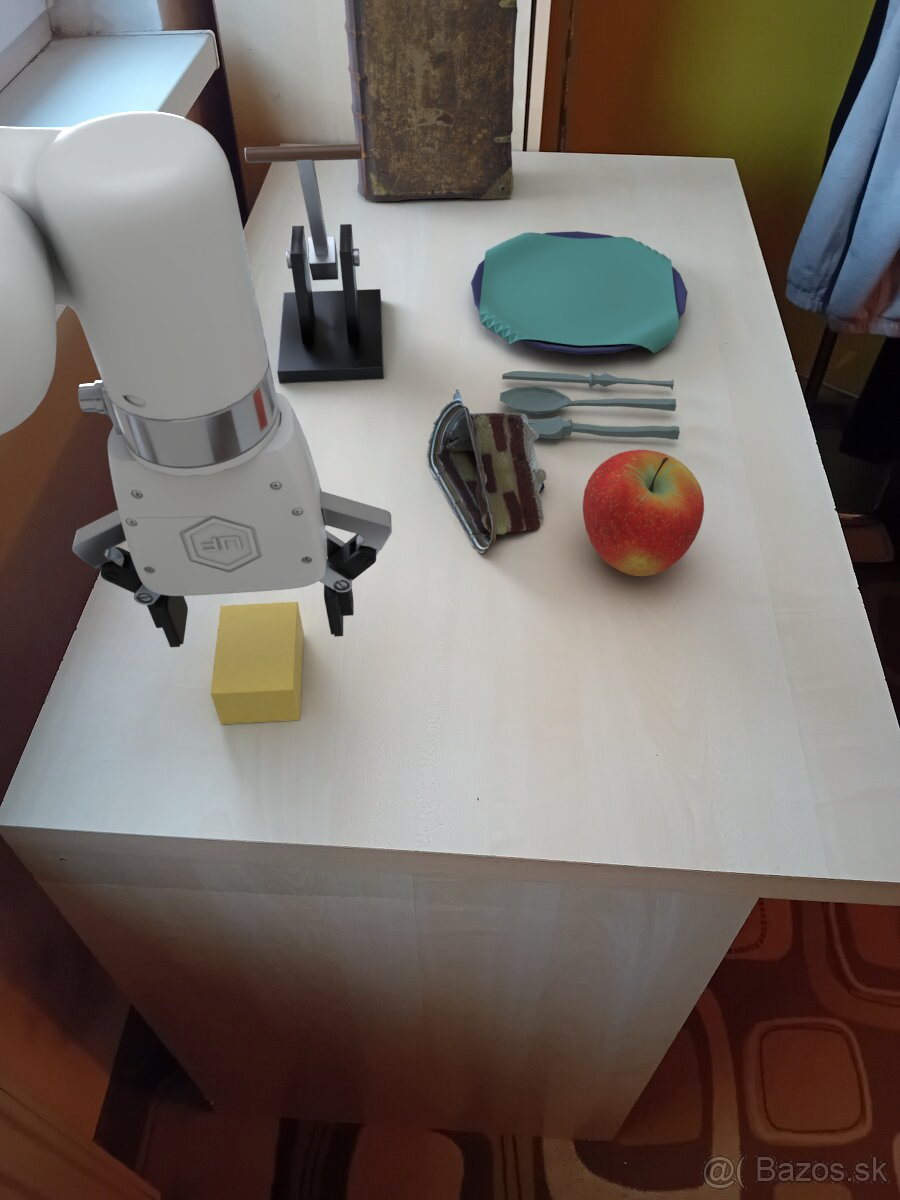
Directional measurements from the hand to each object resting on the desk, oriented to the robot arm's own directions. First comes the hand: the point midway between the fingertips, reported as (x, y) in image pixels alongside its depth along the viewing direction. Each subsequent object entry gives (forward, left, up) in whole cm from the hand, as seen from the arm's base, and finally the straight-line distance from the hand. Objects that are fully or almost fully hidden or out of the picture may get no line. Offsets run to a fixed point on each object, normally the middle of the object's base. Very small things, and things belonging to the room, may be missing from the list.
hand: (259, 623), depth 59 cm
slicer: (+3, +37, -6) cm, 37 cm away
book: (+14, +64, -6) cm, 66 cm away
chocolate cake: (+16, +16, -6) cm, 24 cm away
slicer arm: (+3, +33, +8) cm, 34 cm away
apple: (+25, +9, -6) cm, 28 cm away
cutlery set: (+25, +36, -6) cm, 44 cm away
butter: (-1, 0, -6) cm, 6 cm away
